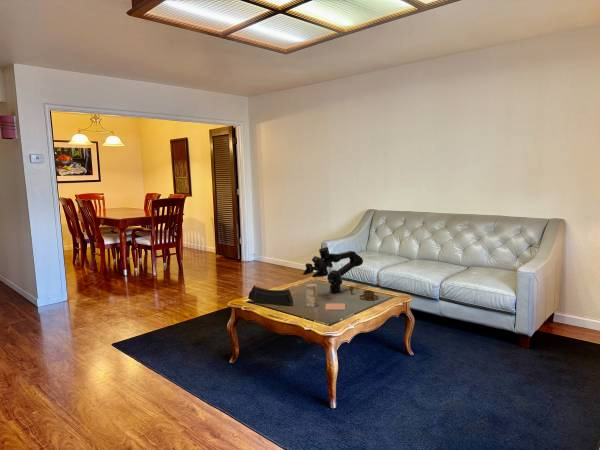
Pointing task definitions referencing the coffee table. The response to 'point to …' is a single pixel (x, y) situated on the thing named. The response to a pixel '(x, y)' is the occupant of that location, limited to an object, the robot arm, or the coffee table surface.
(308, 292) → the birch block
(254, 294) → the black flat curved piece
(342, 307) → the terracotta mat
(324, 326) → the coffee table surface
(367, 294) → the place setting
